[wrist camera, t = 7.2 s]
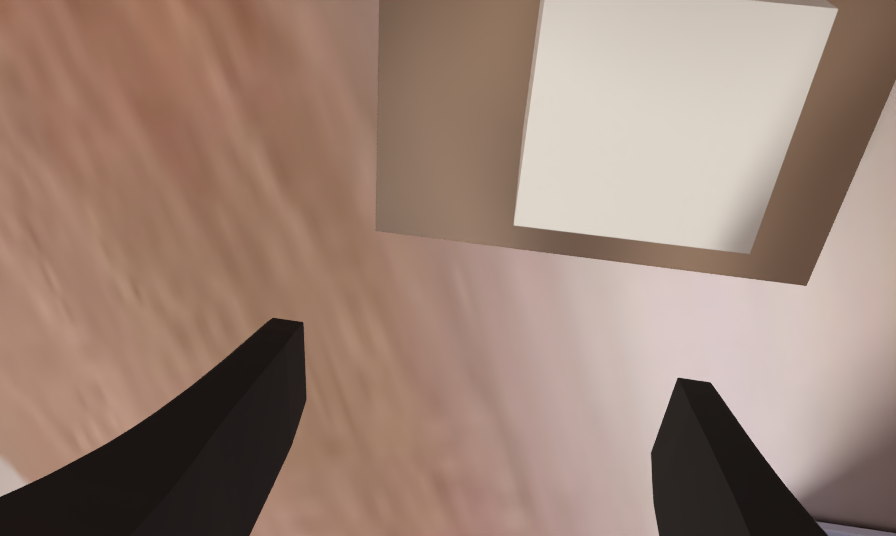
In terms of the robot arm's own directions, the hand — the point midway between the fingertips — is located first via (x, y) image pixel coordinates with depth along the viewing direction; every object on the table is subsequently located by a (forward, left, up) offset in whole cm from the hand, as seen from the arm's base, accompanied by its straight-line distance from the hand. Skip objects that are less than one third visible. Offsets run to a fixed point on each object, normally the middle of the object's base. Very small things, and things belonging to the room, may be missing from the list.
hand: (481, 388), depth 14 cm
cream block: (-2, -5, -7) cm, 9 cm away
